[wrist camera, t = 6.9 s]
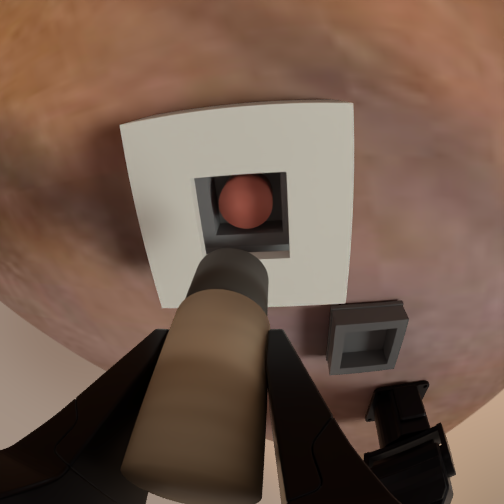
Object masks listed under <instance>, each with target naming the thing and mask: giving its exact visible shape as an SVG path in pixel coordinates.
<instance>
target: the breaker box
mask: <svg viewBox="0 0 504 504" xmlns="http://www.w3.org/2000/svg"><path fill="white" fill-rule="evenodd" d="M120 130H121V136H122V142H123V148H124V154H125V159H126V164H127V170H128V175H129V180H130V185H131V189H132V194H133V199H134V203H135V208H136V212H137V216H138V221H139V225H140V229H141V233H142V237H143V241H144V245H145V249H146V253H147V257H148V260H149V264H150V268H151V271H152V275H153V278H154V282H155V285H156V289H157V292H158V296H159V299H160V302H161V306H162V308H178V307H179V305H180V304H181V303H182V301H184V300H185V298H186V295H187V293H188V290H189V287H190V285H191V282H192V280H193V277H194V275H195V272H196V270H197V267H198V265H199V263H200V261H201V260H202V259H203V258H204V257H205V256H206V255H207V254H209V253H211V252H213V251H215V250H218V249H222V248H236V249H241V250H244V251H247V252H249V253H251V254H252V255H254V256H255V257H257V258H258V259H259V260H260V261H261V262H262V264H263V265H264V267H265V268H266V270H267V273H268V278H269V284H268V307H282V306H306V305H326V304H344V303H346V294H347V284H348V274H349V262H350V248H351V233H352V214H353V188H354V114H353V103H350V102H345V101H339V100H327V99H322V100H281V101H263V102H250V103H238V104H228V105H218V106H210V107H202V108H195V109H188V110H181V111H175V112H168V113H163V114H157V115H152V116H148V117H145V118H141V119H138V120H134V121H131V122H128V123H125V124H121V125H120ZM254 173H262V174H263V175H265V176H266V177H267V179H268V180H269V181H270V183H271V186H272V190H273V205H272V211H271V214H270V216H269V217H268V219H267V220H266V221H265V222H264V223H263V224H261V225H259V226H257V227H255V228H250V229H243V228H238V227H235V226H233V225H231V224H230V223H228V222H227V221H226V220H225V219H224V217H223V216H222V214H221V212H220V209H219V197H220V194H221V192H222V189H223V187H224V185H225V183H226V182H227V180H228V178H229V177H230V176H231V175H239V174H254Z"/></svg>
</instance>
